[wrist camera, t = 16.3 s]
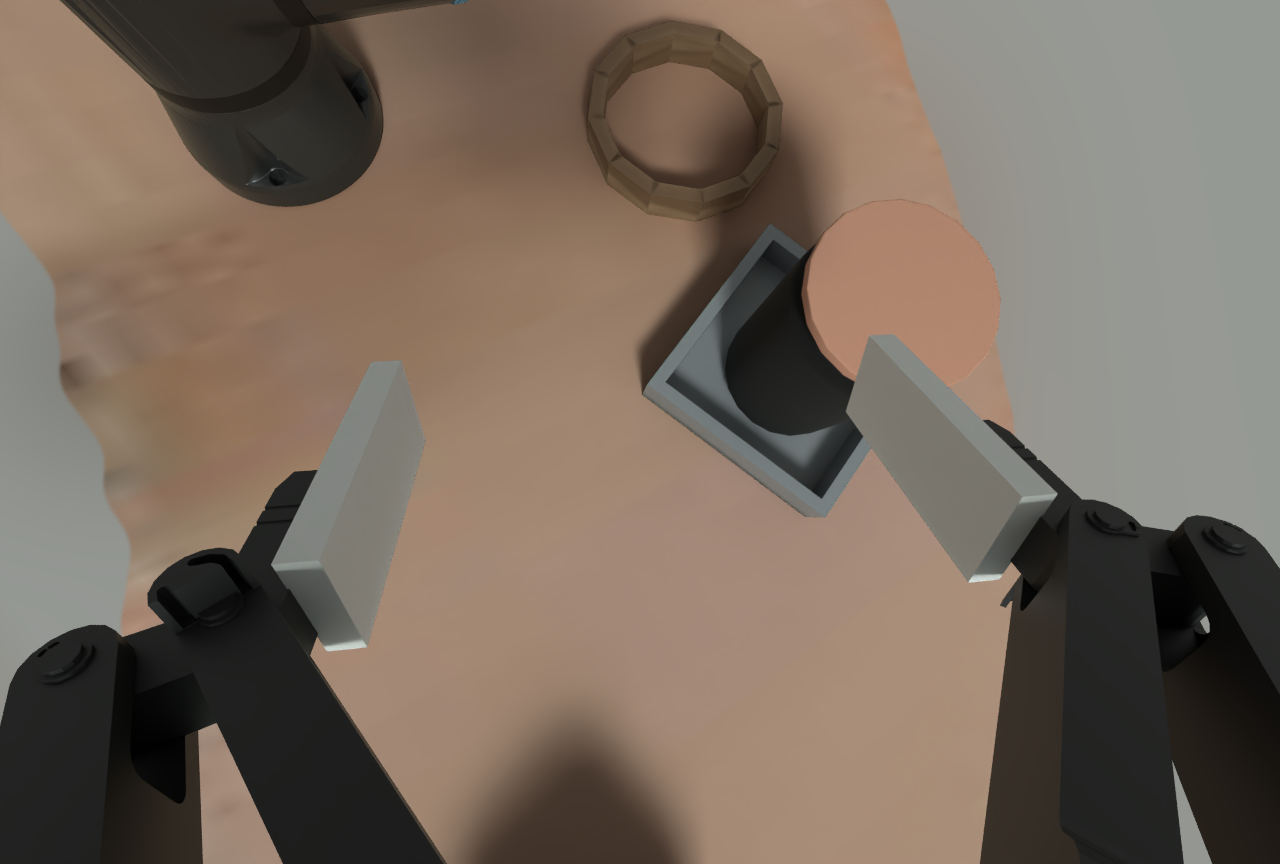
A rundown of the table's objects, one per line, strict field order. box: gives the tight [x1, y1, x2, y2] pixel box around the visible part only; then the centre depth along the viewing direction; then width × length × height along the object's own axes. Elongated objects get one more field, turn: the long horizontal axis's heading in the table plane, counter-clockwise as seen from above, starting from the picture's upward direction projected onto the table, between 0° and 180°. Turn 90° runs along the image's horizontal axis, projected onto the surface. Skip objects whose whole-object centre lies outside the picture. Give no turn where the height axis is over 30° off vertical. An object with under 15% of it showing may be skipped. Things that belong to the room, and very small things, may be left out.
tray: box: [642, 223, 871, 518], centre depth 45 cm, size 17×17×4 cm
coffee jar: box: [725, 199, 1001, 436], centre depth 37 cm, size 11×11×18 cm
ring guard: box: [588, 21, 783, 222], centre depth 48 cm, size 16×16×3 cm
